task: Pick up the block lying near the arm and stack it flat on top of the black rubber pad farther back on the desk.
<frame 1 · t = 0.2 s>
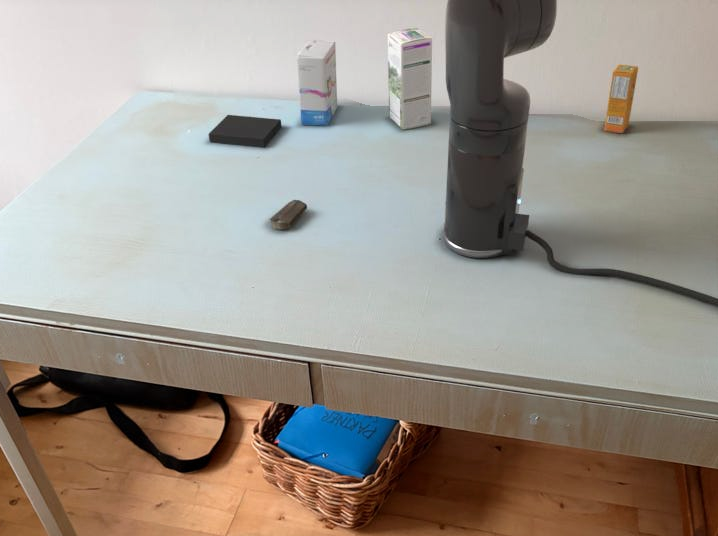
ink box: (320, 117, 133), on the table
block: (287, 221, 106), on the table
syrup box: (409, 122, 130), on the table
supplement box: (614, 130, 124), on the table
black pad: (246, 134, 128), on the table
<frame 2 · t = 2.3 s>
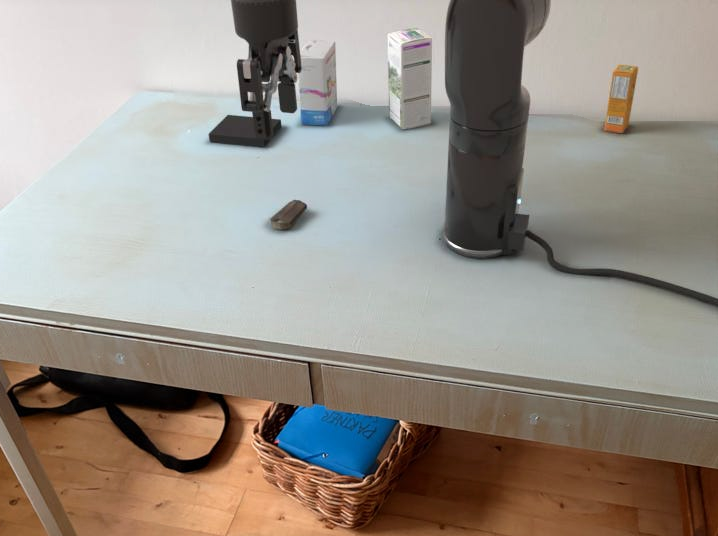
hand: (277, 124, 97), 14 cm above the table, tool pointing down, fingers open, 8 cm apart
nothing on the table moved.
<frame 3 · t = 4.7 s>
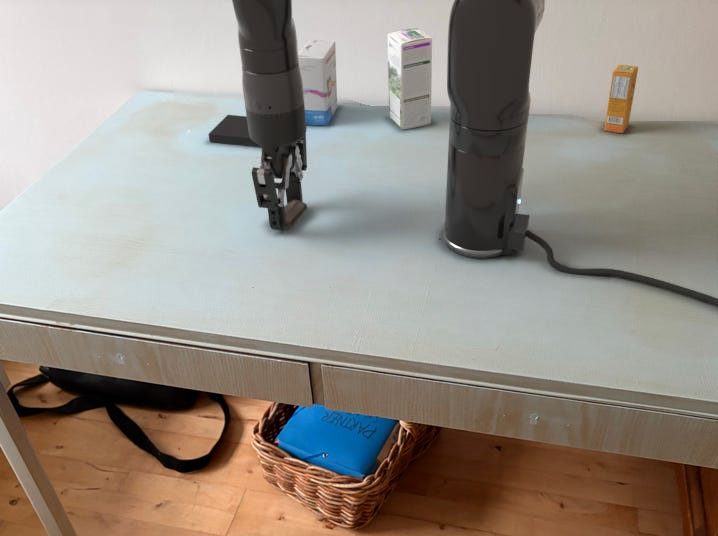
hand: (287, 215, 106), 1 cm above the table, tool pointing down, fingers closed on block, 6 cm apart
block: (287, 221, 106), on the table, touching gripper
everything else where it was.
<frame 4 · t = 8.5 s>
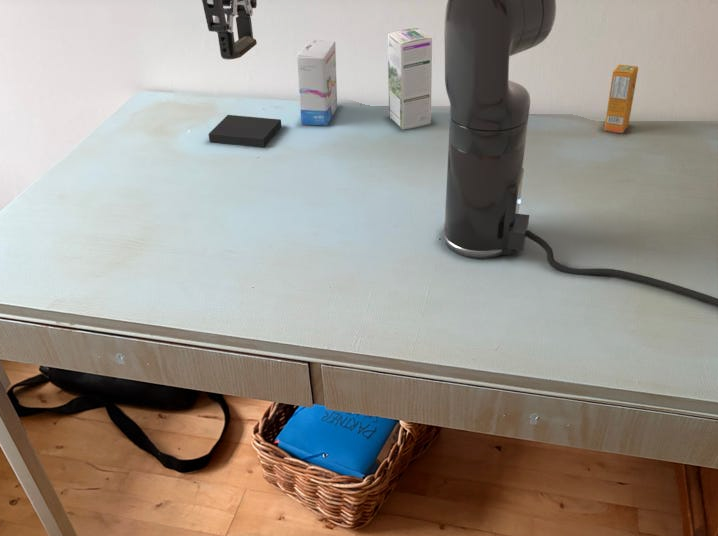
hand: (237, 49, 113), 16 cm above the table, tool pointing down, fingers closed on block, 6 cm apart
block: (238, 55, 114), point 15 cm above the table, touching gripper
everything else where it was.
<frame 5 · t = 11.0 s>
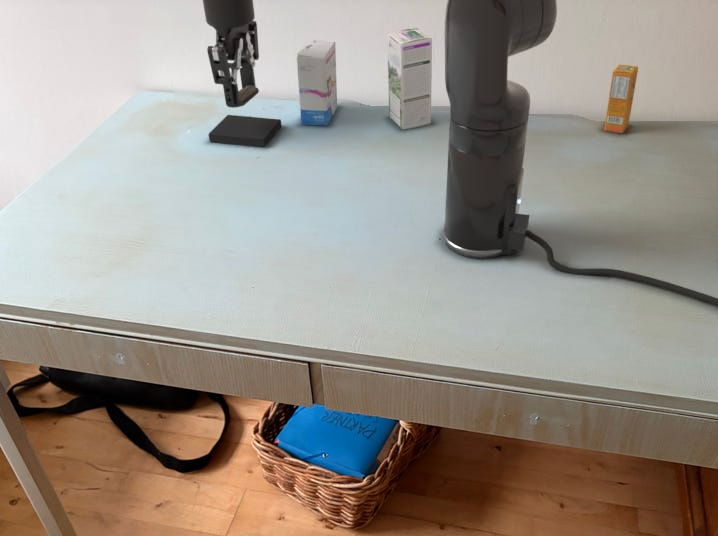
hand: (241, 97, 124), 6 cm above the table, tool pointing down, fingers closed on block, 6 cm apart
block: (242, 102, 124), point 6 cm above the table, touching gripper
everything else where it was.
when the fingers open (2 cm above the table, at t = 12.7 s): block stays where it is, resting on black pad.
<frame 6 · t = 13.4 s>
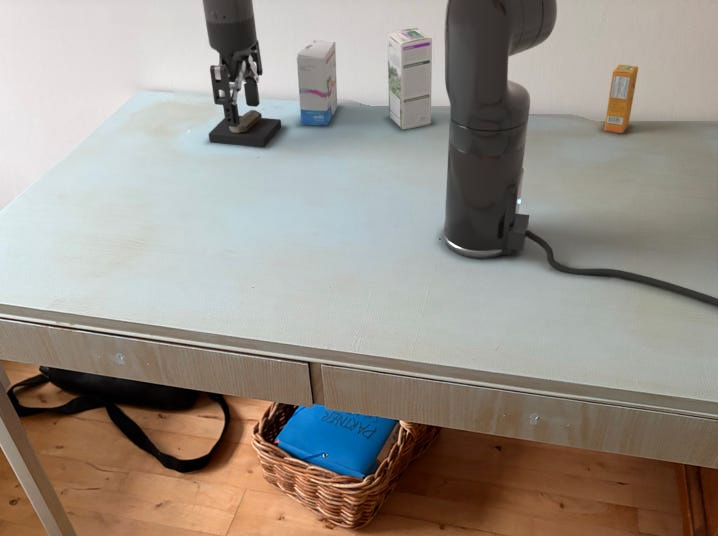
hand: (243, 115, 126), 3 cm above the table, tool pointing down, fingers open, 8 cm apart
block: (245, 127, 127), point 1 cm above the table, touching black pad
black pad: (246, 134, 128), on the table, touching block
everything else where it was.
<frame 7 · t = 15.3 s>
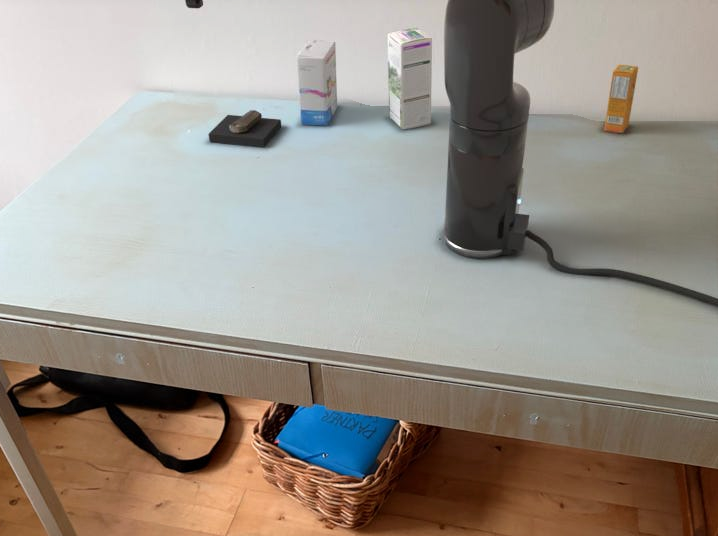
nothing on the table moved.
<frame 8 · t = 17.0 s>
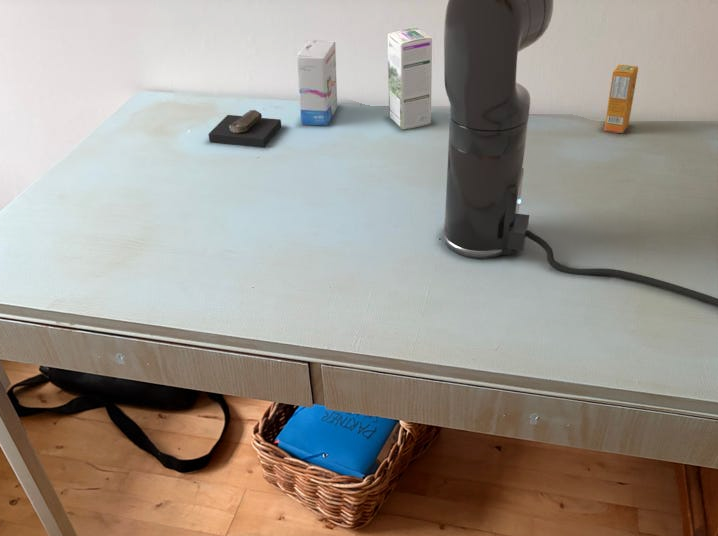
nothing on the table moved.
at the end: block 0.1 cm off-centre on the black pad, point 1.3 cm above the black pad's base; block tilted 0°; the gripper is holding nothing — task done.
